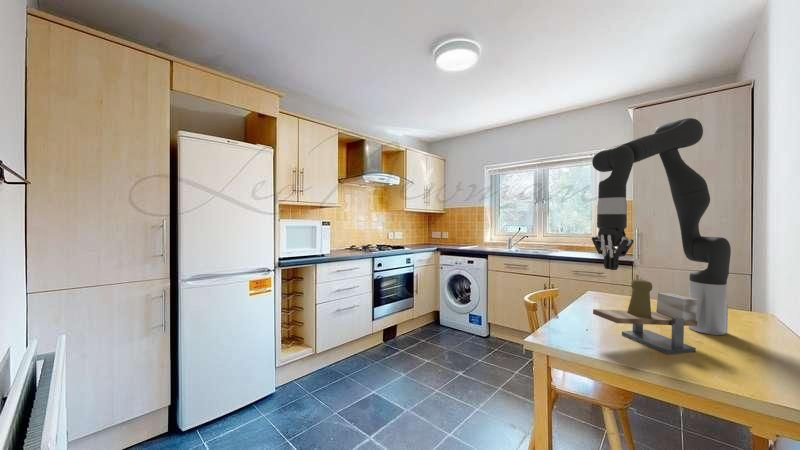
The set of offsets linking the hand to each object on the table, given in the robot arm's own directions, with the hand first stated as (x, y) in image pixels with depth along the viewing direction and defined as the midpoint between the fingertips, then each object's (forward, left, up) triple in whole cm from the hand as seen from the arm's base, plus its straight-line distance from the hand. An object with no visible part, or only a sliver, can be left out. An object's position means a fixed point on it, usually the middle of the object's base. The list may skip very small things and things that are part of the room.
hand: (610, 269), depth 93 cm
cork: (-11, 0, -15) cm, 18 cm away
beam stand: (-17, 0, -24) cm, 29 cm away
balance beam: (-12, 0, -16) cm, 20 cm away
